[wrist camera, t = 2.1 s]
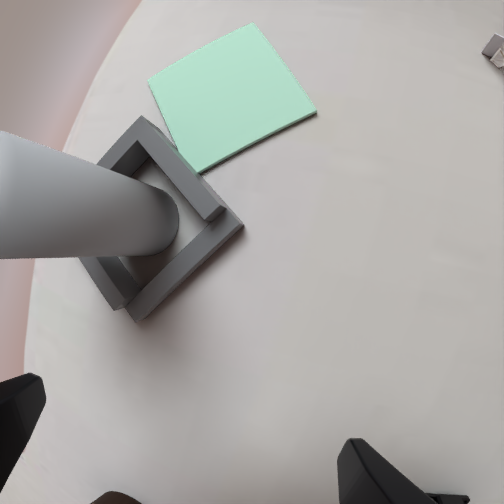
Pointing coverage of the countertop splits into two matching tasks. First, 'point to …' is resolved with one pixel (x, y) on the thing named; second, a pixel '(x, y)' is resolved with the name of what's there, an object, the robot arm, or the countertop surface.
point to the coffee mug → (115, 499)
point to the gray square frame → (195, 191)
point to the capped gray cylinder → (76, 207)
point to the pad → (228, 97)
